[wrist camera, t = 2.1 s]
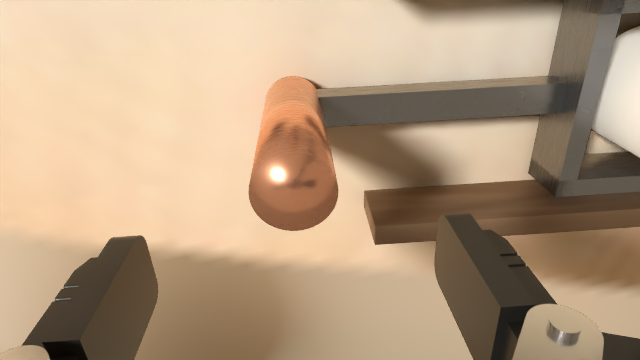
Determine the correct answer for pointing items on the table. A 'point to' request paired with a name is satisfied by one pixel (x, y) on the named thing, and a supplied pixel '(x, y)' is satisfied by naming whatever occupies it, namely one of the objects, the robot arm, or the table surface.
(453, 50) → the table surface
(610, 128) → the can
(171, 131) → the table surface
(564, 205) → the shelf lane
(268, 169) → the pull frame
